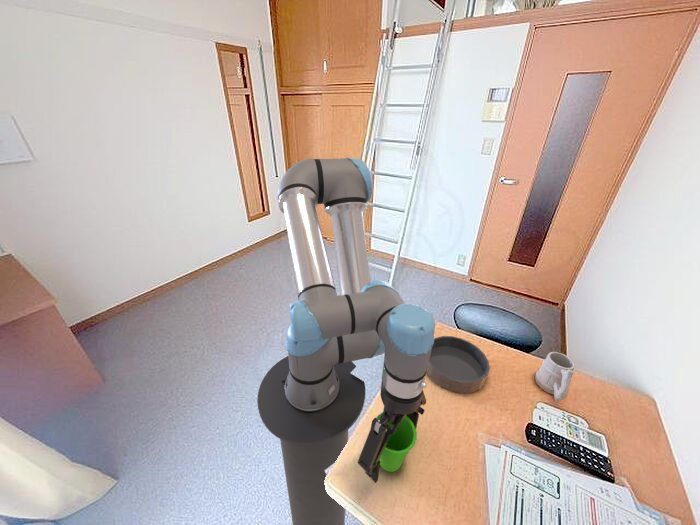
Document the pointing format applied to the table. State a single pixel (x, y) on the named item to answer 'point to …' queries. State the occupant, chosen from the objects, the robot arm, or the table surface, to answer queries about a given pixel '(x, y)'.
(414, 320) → the robot arm
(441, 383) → the pan
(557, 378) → the mug
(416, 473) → the table surface
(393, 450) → the cup
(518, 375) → the table surface
